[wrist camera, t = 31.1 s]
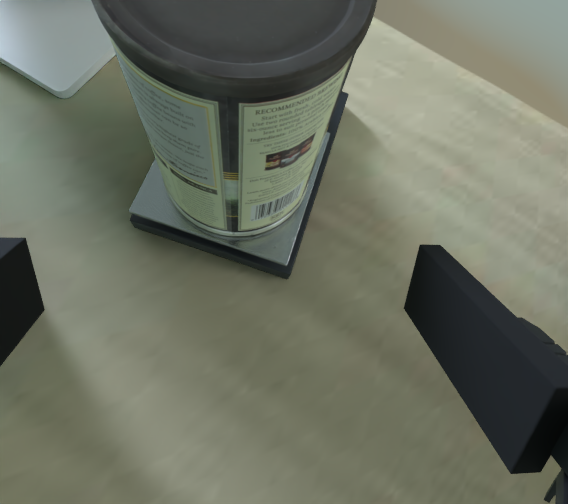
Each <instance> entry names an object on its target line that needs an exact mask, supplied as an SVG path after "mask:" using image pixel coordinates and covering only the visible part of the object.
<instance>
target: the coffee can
mask: <svg viewBox="0 0 568 504" xmlns="http://www.w3.org/2000/svg"><path fill="white" fill-rule="evenodd" d="M91 1H92V4H93V6H94V9H95V11H96V13H97V15H98V17H99V19H100V21H101V23H102V25H103V26H104V28H105V30H106V31H107V33H108V35H109V37H110V40H111V43H112V45H113V48H114V50H115V53H116V56H117V58H118V61H119V64H120V66H121V69H122V72H123V74H124V77H125V80H126V82H127V85H128V87H129V90H130V92H131V95H132V98H133V100H134V103H135V105H136V108H137V111H138V113H139V116H140V119H141V121H142V124H143V127H144V129H145V132H146V135H147V137H148V140H149V142H150V145H151V148H152V150H153V153H154V156H155V158H156V161H157V164H158V166H159V169H160V171H161V174H162V177H163V181H164V185H165V188H166V191H167V194H168V196H169V198H170V199H171V201H172V202H173V204H174V206H175V207H176V208H177V209H178V210H179V211H180V212H181V214H183V215H184V216H185V217H186V218H187V219H188V220H190V221H191V222H193V223H194V224H195V225H196V226H198V227H201V228H204V229H206V230H208V231H210V232H213V233H217V234H220V235H226V236H249V235H256V234H259V233H262V232H265V231H268V230H270V229H272V228H274V227H276V226H278V225H279V224H281V223H282V222H284V221H285V220H286V219H288V218H289V217H290V216H291V215H292V214H293V213H294V211H295V210H296V209H297V208H298V207H299V206H300V204H301V202H302V200H303V198H304V196H305V193H306V190H307V186H308V182H309V179H310V176H311V174H312V171H313V168H314V165H315V163H316V160H317V157H318V154H319V152H320V149H321V146H322V143H323V140H324V138H325V135H326V132H327V129H328V127H329V124H330V121H331V119H332V117H333V114H334V111H335V108H336V106H337V103H338V100H339V97H340V94H341V92H342V89H343V86H344V83H345V80H346V78H347V75H348V72H349V70H350V67H351V64H352V61H353V58H354V55H355V53H356V50H357V49H358V47H359V46H360V44H361V42H362V41H363V39H364V37H365V35H366V33H367V31H368V28H369V26H370V23H371V21H372V18H373V15H374V11H375V6H376V2H377V0H91Z"/></svg>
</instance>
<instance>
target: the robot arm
mask: <svg viewBox="0 0 568 504" xmlns="http://www.w3.org/2000/svg"><path fill="white" fill-rule="evenodd" d="M404 309H405V311H406V312H407V314H408V315H409V317H410V319H411V320H412V322H413V323H414V325H415V326H416V328H417V329H418V331H419V332H420V334H421V336H422V337H423V339H424V340H425V342H426V343H427V345H428V346H429V348H430V349H431V351H432V353H433V354H434V356H435V357H436V359H437V360H438V362H439V363H440V365H441V367H442V368H443V370H444V371H445V373H446V374H447V376H448V377H449V379H450V380H451V382H452V384H453V385H454V387H455V388H456V390H457V391H458V393H459V394H460V396H461V397H462V399H463V401H464V402H465V404H466V405H467V407H468V408H469V410H470V411H471V413H472V414H473V416H474V418H475V419H476V421H477V422H478V424H479V425H480V427H481V428H482V430H483V431H484V433H485V435H486V436H487V438H488V439H489V441H490V442H491V444H492V445H493V447H494V449H495V450H496V452H497V453H498V455H499V456H500V458H501V459H502V461H503V462H504V464H505V466H506V467H507V469H508V470H509V472H510V473H511V474H518V473H535V472H541V471H542V469H543V467H544V466H545V464H546V462H547V461H548V459H549V457H550V456H551V455H552V457H553V458H554V459H555V460H556V462H557V463H558V464H559V466H560V467H561V468H562V469H561V471H560V472H559V474H558V475H557V477H556V479H555V480H554V482H553V483H552V485H551V487H550V488H549V490H548V491H547V493H546V495H545V498H544V500H545V501H547V502H550V501H551V499H552V498H553V496H555V495H556V503H555V504H568V355H567V354H566V352H565V351H564V350H563V349H562V348H561V347H560V346H559V345H558V344H555V343H554V341H553V340H552V339H551V338H550V337H549V336H548V335H547V334H546V333H544V332H543V331H542V330H541V329H540V328H538V327H537V326H535V325H533V324H531V323H530V322H528V321H526V320H525V319H523V318H517V317H516V316H515V315H514V314H513V313H512V312H510V311H509V310H508V309H507V308H506V307H505V306H504V305H503V304H502V303H501V302H500V301H499V300H498V299H497V298H496V297H495V296H494V295H493V294H491V293H490V292H489V291H488V290H487V289H486V288H485V287H484V286H483V285H482V284H481V283H480V282H479V281H478V280H477V279H476V278H475V277H473V276H472V275H471V274H470V273H469V272H468V271H467V270H466V269H465V268H464V267H463V266H462V265H461V264H460V263H459V262H458V261H457V260H455V259H454V258H453V257H452V256H451V255H450V254H449V253H448V252H447V251H446V250H445V249H444V248H443V247H442V246H441V245H420V246H419V250H418V254H417V258H416V262H415V266H414V270H413V274H412V278H411V282H410V286H409V290H408V294H407V298H406V302H405V306H404ZM44 310H45V309H44V305H43V301H42V298H41V294H40V290H39V286H38V283H37V279H36V275H35V271H34V268H33V264H32V260H31V256H30V253H29V249H28V245H27V241H26V238H0V366H1V365H2V364H3V362H4V361H5V360H6V358H7V357H8V356H9V355H10V353H11V352H12V351H13V350H14V348H15V347H16V346H17V344H18V343H19V342H20V341H21V339H22V338H23V337H24V335H25V334H26V333H27V332H28V330H29V329H30V328H31V327H32V325H33V324H34V323H35V321H36V320H37V319H38V318H39V316H40V315H41V314H42V312H43V311H44Z"/></svg>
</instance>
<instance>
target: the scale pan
mask: <svg viewBox="0 0 568 504" xmlns="http://www.w3.org/2000/svg"><path fill="white" fill-rule="evenodd" d="M329 136H330V133H329V132H326V135H325V138H324V140H323V143H322V146H321V149H320V152H319V154H318V157H317V160H316V163H315V165H314V168H313V171H312V174H311V176H310V179H309V182H308V186H307V190H306V193H305V196H304V198H303V200H302V202H301V204H300V206H299V207H298V208H297V209H296V210H295V211H294V213H293V214H292V215H291V216H290V217H289V218H288V219H286V220H285V221H284V222H282V223H281V224H279V225H278V226H276V227H274V228H272V229H270V230H268V231H265V232H262V233H259V234H256V235H249V236H226V235H220V234H217V233H213V232H210V231H208V230H206V229H204V228H201V227H198V226H196V225H195V224H194V223H193V222H191V221H190V220H188V219H187V218H186V217H185V216H184V215H183V214H181V212H180V211H179V210H178V209H177V208H176V207H175V206H174V204H173V202H172V201H171V199H170V198H169V196H168V194H167V191H166V188H165V185H164V181H163V177H162V174H161V171H160V169H159V166H158V164H157V161H156V158H155V160H154V162H153V164H152V166H151V168H150V170H149V172H148V173H147V175H146V177H145V179H144V181H143V183H142V185H141V187H140V189H139V191H138V193H137V195H136V197H135V199H134V201H133V203H132V205H131V207H130V209H129V212H130V213H132V214H135V215H138V216H140V217H143V218H146V219H149V220H152V221H155V222H158V223H161V224H164V225H167V226H170V227H173V228H176V229H179V230H182V231H184V232H187V233H190V234H193V235H196V236H199V237H202V238H205V239H208V240H211V241H214V242H217V243H220V244H223V245H226V246H228V247H231V248H234V249H237V250H240V251H243V252H246V253H249V254H252V255H255V256H258V257H261V258H264V259H267V260H270V261H272V262H275V263H278V264H281V265H284V266H287V264H288V261H289V258H290V255H291V252H292V249H293V246H294V243H295V240H296V237H297V234H298V231H299V228H300V225H301V222H302V219H303V216H304V213H305V210H306V206H307V203H308V200H309V197H310V194H311V191H312V188H313V185H314V182H315V179H316V176H317V173H318V170H319V167H320V164H321V161H322V158H323V155H324V152H325V149H326V146H327V143H328V139H329Z"/></svg>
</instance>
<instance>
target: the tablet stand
mask: <svg viewBox="0 0 568 504" xmlns="http://www.w3.org/2000/svg"><path fill="white" fill-rule="evenodd" d="M115 55H116V53H115V50H114V48H113V45H112V43H111V40H110V37H109V35H108V33H107V31H106V30H105V28H104V26H103V25H102V23H101V21H100V19H99V17H98V15H97V13H96V11H95V9H94V6H93V4H92V1H91V0H0V62H1V63H3V64H5V65H6V66H8V67H10V68H11V69H13V70H15V71H16V72H18V73H19V74H21V75H23V76H24V77H26V78H28V79H29V80H31V81H33V82H34V83H36V84H38V85H39V86H41V87H42V88H44V89H46V90H47V91H49V92H51V93H52V94H54V95H56V96H57V97H59V98H69V97H71V96H73V95H74V94H75V93H76V92H77V91H78V90H79V89H80V88H81V87H82V86H83V85H84V84H85V83H86V82H87V81H88V80H89V79H91V78H92V77H93V76H94V75H95V74H96V73H97V72H98V71H99V70H100V69H101V68H102V67H103V66H104V65H105V64H106V63H107V62H108V61H109V60H110V59H112V58H113V57H114V56H115Z"/></svg>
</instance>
